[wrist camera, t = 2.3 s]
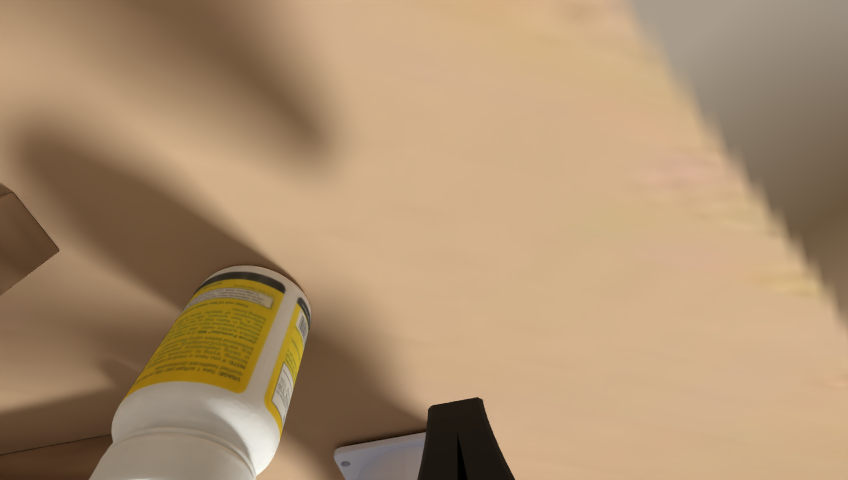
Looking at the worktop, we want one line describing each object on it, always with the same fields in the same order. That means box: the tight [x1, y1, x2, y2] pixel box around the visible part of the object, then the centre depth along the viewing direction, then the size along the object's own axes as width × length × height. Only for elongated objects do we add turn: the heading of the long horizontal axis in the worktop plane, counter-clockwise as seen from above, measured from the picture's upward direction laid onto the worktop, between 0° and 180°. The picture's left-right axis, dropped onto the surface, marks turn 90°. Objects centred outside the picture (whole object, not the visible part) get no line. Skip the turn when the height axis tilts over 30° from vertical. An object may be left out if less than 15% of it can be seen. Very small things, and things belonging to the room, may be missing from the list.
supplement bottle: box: [89, 265, 311, 480], centre depth 14 cm, size 5×5×8 cm
